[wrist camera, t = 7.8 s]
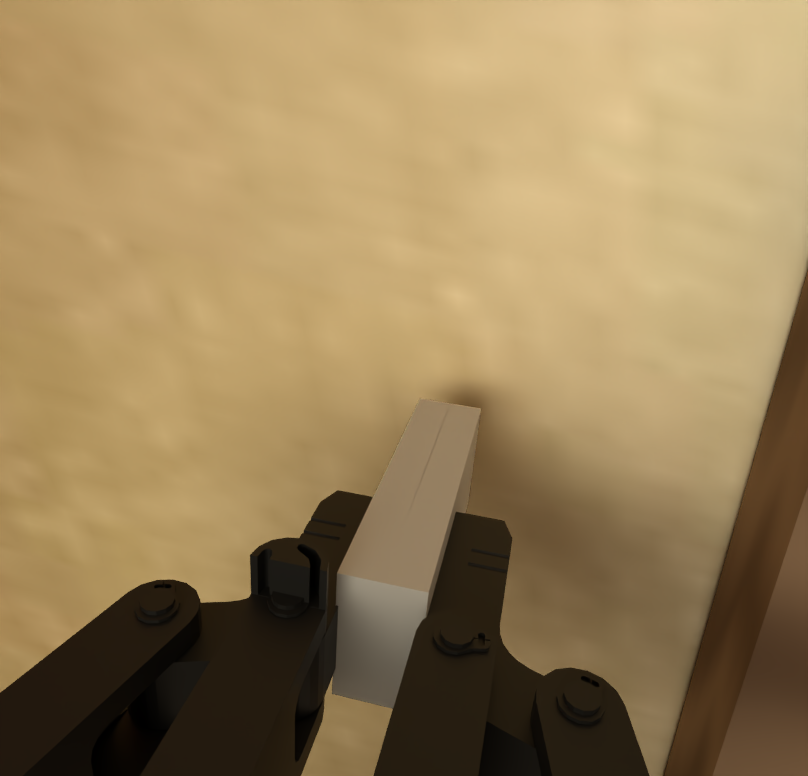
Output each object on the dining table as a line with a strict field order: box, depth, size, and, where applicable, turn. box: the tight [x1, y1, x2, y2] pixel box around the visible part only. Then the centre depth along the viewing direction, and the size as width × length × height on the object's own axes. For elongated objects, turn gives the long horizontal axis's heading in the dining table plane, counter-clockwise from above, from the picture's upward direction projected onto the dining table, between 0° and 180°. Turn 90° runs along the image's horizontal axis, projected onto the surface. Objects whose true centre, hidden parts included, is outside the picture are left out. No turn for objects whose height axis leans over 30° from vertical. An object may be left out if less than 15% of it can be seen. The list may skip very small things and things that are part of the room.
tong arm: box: [664, 272, 808, 776], centre depth 17 cm, size 24×2×4 cm, turn 178°
